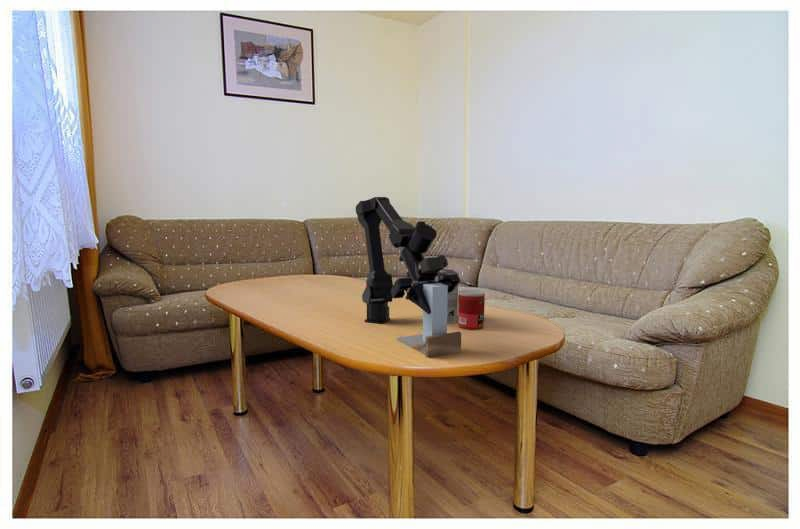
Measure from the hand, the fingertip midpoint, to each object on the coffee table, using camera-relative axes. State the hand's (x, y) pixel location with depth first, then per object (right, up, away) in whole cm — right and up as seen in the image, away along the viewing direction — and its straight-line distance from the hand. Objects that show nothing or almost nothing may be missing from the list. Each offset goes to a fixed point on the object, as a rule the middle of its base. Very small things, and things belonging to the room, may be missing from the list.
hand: (437, 312), depth 120 cm
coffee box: (+5, -6, +34) cm, 35 cm away
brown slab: (-1, -10, +2) cm, 10 cm away
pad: (-5, -9, +10) cm, 14 cm away
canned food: (+12, -7, +25) cm, 29 cm away
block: (-1, -8, +2) cm, 8 cm away
